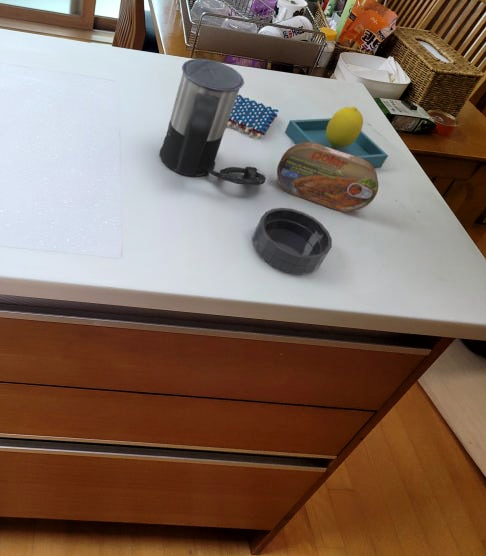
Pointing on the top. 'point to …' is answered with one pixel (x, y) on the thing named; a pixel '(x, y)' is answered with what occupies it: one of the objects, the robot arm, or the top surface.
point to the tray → (317, 134)
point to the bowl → (291, 240)
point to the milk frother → (204, 121)
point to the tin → (327, 177)
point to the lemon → (344, 127)
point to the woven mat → (251, 116)
